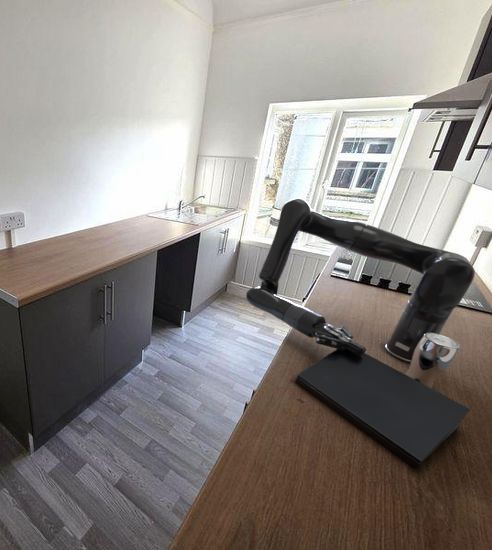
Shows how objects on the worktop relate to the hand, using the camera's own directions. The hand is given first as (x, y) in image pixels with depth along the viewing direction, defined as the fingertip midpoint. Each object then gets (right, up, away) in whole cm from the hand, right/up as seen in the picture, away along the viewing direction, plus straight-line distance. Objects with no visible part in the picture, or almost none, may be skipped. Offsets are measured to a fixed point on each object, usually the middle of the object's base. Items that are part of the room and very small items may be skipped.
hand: (363, 352), depth 80 cm
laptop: (-3, -11, -6) cm, 13 cm away
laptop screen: (-3, -8, -8) cm, 12 cm away
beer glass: (+15, -9, +1) cm, 18 cm away
